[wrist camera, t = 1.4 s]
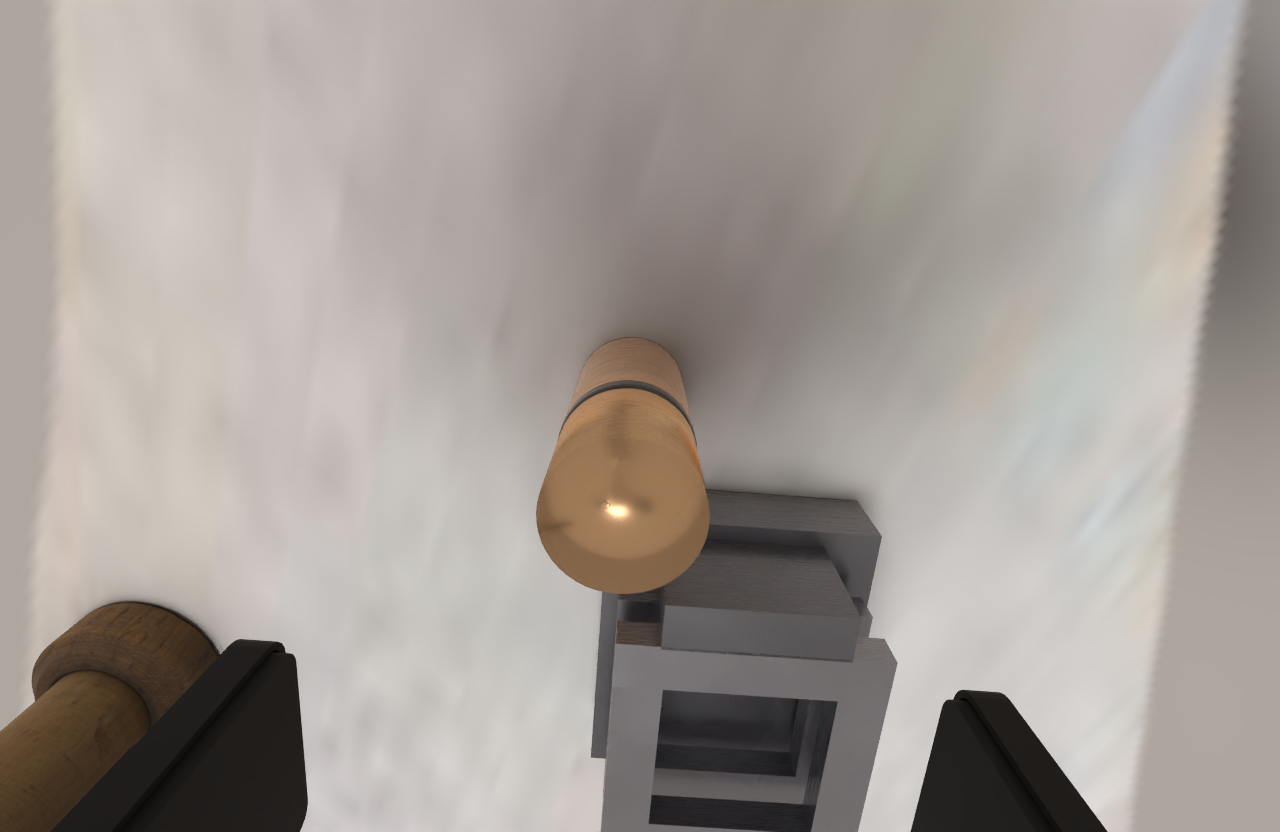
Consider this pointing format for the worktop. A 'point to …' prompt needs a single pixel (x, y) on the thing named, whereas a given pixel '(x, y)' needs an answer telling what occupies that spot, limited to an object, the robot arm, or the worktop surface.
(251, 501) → the worktop surface
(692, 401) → the worktop surface
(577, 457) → the copper tube
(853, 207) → the worktop surface
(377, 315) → the worktop surface
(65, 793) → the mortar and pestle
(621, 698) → the bracket
